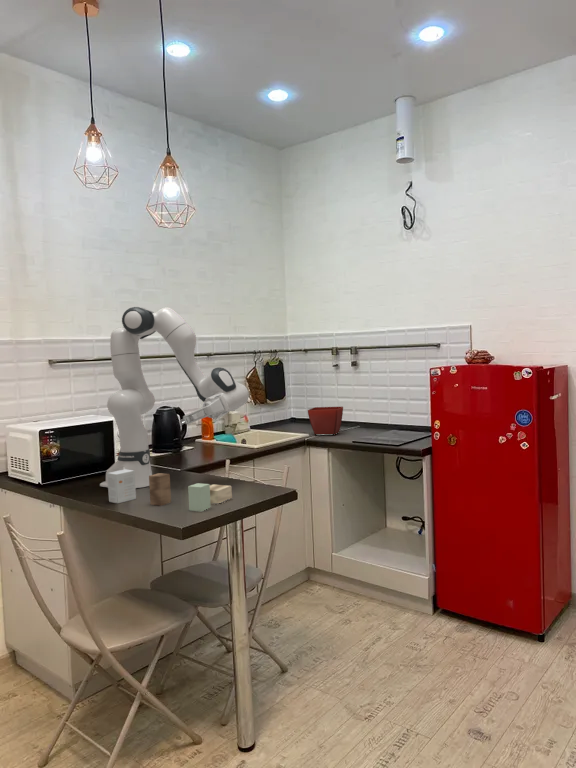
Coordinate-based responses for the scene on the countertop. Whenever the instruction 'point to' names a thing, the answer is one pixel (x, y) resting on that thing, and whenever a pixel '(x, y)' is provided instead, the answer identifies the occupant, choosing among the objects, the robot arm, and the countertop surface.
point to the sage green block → (199, 497)
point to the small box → (121, 486)
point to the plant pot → (325, 419)
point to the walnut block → (159, 489)
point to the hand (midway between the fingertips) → (186, 420)
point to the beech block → (220, 493)
